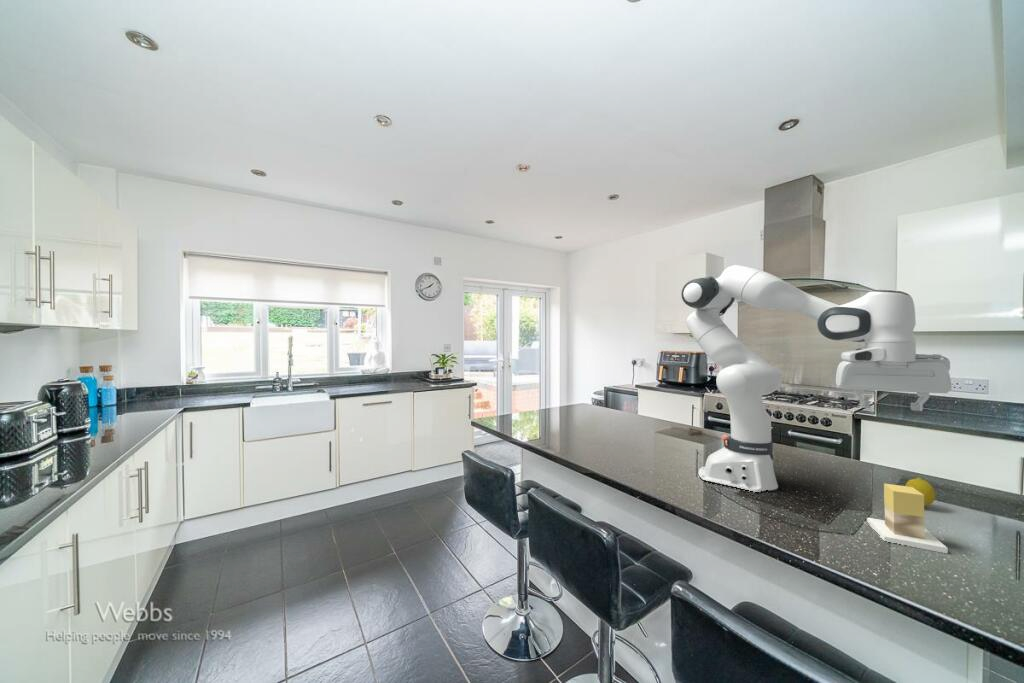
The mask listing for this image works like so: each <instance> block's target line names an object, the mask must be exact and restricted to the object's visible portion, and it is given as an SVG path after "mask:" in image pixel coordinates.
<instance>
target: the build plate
mask: <svg viewBox="0 0 1024 683" xmlns="http://www.w3.org/2000/svg"><path fill="white" fill-rule="evenodd" d="M867 522H868V523H869V524H870V525H869V524H868V523H867ZM866 523H867V524H868V525H869V526H870V528H872V529H874V530H875V531H876V532H877V533H878V534H879V535H880V536H879V535H878V534H877V533H876V532H875V531H874V530H873V531H874V532H875V533H876V534H877V535H878V536H879V537H880V539H881V538H882V539H883V540H884V541H887V542H886V543H888V542H891V543H890V544H893V543H897V544H896V545H899V544H901V546H904V545H907V546H906V547H910V546H911V547H910V548H915V547H916V548H915V549H921V550H925V551H926V550H927V551H932V552H938V553H943V554H948V551H949V550H948V547H947V546H946V545H945V544H943V542H941V541H940V540H939V538H937V537H935V536H934V535H933V534H932V533H931V532H930V531H929V530H927V529H926V528H925V539H920V538H914V537H908V536H903V535H897V534H894V533H893V532H892V531H891V530H890V529H889V528H888V527H887V526H886V525H885V519H877V518H872V517H866ZM882 539H881V540H882ZM883 540H882V541H883ZM884 541H883V542H884Z"/></svg>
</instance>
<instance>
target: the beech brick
mask: <svg viewBox="0 0 1024 683" xmlns="http://www.w3.org/2000/svg"><path fill="white" fill-rule="evenodd" d="M925 518H926V517H925V516H924V517H919V516H913V515H906V514H900V513H894V512H893V511H891V510H890V509H889V508H888V507H887V506H886V505H885V504H884V520H885V525H886V526H887V527H888V528H889V529H890V530H891V531H892V532H893V533H894V534H897V535H903V536H908V537H914V538H920V539H925V529H926V527H925V524H926V523H925V520H926V519H925Z"/></svg>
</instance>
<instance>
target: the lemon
mask: <svg viewBox="0 0 1024 683" xmlns="http://www.w3.org/2000/svg"><path fill="white" fill-rule="evenodd" d="M905 486H907V487H913V488H915V489H916V490H917V491H919V492H920V493H922V494H923V495H924V507H925V506H926V507H927V506H930V505H932V504H933V503H934V502H935V499H936V491H935V489H934V488H933V486H932V484H931V483H929V482H928V481H927V480H924V479H922V478H921V477H917V478H912V479H909V480H908V481H907V482H906V483H905Z"/></svg>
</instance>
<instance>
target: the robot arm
mask: <svg viewBox="0 0 1024 683" xmlns="http://www.w3.org/2000/svg"><path fill="white" fill-rule="evenodd" d="M681 299H682V302H683V303H684V304H685V305H686V306H688V307H689V308H692V309H694V310H693V312H691V313H690V314H689V315H688V316H687V318H686V322H685V323H686V326H687V328H688V330H689V333H690V334H691V336H692V338H693V339H694V340H695V342H696V343H697V344H698V345H699V347H700V348H701V349H702V351H703V352H704V353H705V355H706V356H707V357H708V358H709V360H710V361H711V362H712V363H714V364H716V365H718V366H720V367H721V368H722V369H721V370H720V371H719V372H718V374H716V379H715V381H716V382H715V383H716V387H717V389H718V390H719V392H720V393H721V394H723V396H724V398H725V400H726V403H727V407H728V410H729V417H730V435H729V436H728V435H727V434H723V435H722V437H721V439H722V441H723V447H721V448H719V449H718V450H716V451H714V452H713V453H710V454H709V455H708V456H707V457H706V458H707V459H706V461H705V465H704V466H702V467H700V468H699V469H698V472H697V474H699V476H700V477H701V478H702V479H703V480H706V481H711V482H715V483H720V484H724V485H728V486H733V487H737V488H741V489H745V490H749V491H748V492H750V491H753V492H752V493H755V492H759V493H761V491H762V492H765V491H766V490H768V491H774V490H777V489H778V488H779V485H778V481H777V478H776V474H775V470H774V465H773V464H774V462H773V459H774V458H775V457H774V453H775V452H774V442H773V441H772V418H771V415H770V414H769V412H767V410H766V408H765V405H764V402H763V401H764V400H763V396H767V395H770V394H772V393H774V392H775V391H777V390H778V389H780V388H781V386H782V384H783V374H782V372H781V371H780V370H779V369H778V367H776V366H774V365H772V364H770V363H769V362H767V361H765V360H764V359H763V358H762V357H761V356H759V355H758V354H757V353H755V352H754V350H753V351H752V349H750V348H749V347H748V346H747V345H745V344H744V343H743V342H742V341H741V340H740V338H738V337H737V336H736V335H735V333H734V332H733V331H732V330H731V329H730V328H729V327H728V326H727V324H726V323H725V322H724V321H723V320H722V319H721V317H720V316H723V315H725V313H726V312H727V310H729V308H731V307H732V305H733V304H734V302H735V301H736V300H738V301H740V302H742V303H745V304H748V305H749V306H751V307H756V308H759V309H764V310H772V311H773V310H774V311H783V312H784V311H785V312H791V313H797V314H800V315H803V316H806V317H808V318H811V319H813V320H816V322H817V323H816V325H817V326H816V327H817V330H818V331H819V332H820V334H821V335H822V336H823V337H825V338H826V339H829V340H832V341H837V342H854V343H864V346H863V347H859V348H856V349H855V348H854V349H852V350H847V351H843V352H841V354H840V358H841V360H842V361H841V362H840V363H838V365H837V368H836V374H835V385H836V387H838V388H840V389H841V390H850V391H851V390H853V394H854V395H855V396H856V398H857V399H858V401H859V407H860V408H862V409H870V408H871V406H870V405H871V401H870V400H867V399H865V397H864V396H862V395H864V394H865V391H874V392H875V391H876V392H877V391H878V392H879V391H880V392H881V391H883V392H904V393H905V392H906V393H916V396H918V398H917V399H916V401H915V402H910V410H911V411H913V412H914V411H915V412H917V411H918V412H922V411H923V408H924V407H923V405H924V404H925V403H926V402H927V401H928V400H929V399H930V393H931V394H948V393H950V391H951V390H952V388H953V387H952V381H951V375H950V369H951V361H950V360H949V358H947V357H946V356H945V355H944V356H943V355H941V354H939V353H937V354H934V353H932V354H925V353H923V354H922V353H921V354H919V353H917V349H916V347H917V343H916V338H915V334H914V330H915V326H916V322H917V321H916V310H915V309H916V308H915V303H914V299H913V297H912V296H911V295H910V294H909V293H907V292H905V291H900V290H892V289H891V290H888V289H887V290H886V289H885V290H884V289H877V290H876V289H875V290H871V291H868V292H867V293H865V294H864V295H862V296H861V297H859V298H856V299H854V300H851V301H849V302H847V303H843V304H838V303H835V302H832V301H831V300H830V301H829V300H827V299H824V298H823V297H822V298H821V297H818V296H816V295H814V294H813V295H812V294H810V293H808V292H805V291H804V290H802V289H800V288H798V287H796V286H794V285H793V284H790V283H789V282H787V281H785V280H783V279H782V278H779V277H778V276H775V275H774V274H771V273H769V272H766V271H763V270H761V269H757V268H754V267H750V266H747V265H746V266H745V265H739V264H734V265H731V266H727V268H725V269H724V270H723V271H722V273H721V275H720V276H719V277H717V278H714V276H706V277H699V278H694V279H691V280H688V281H687V282H686V283H685V284H684V285H683V286H682V290H681ZM699 476H698V477H699ZM745 490H744V491H745Z"/></svg>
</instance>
